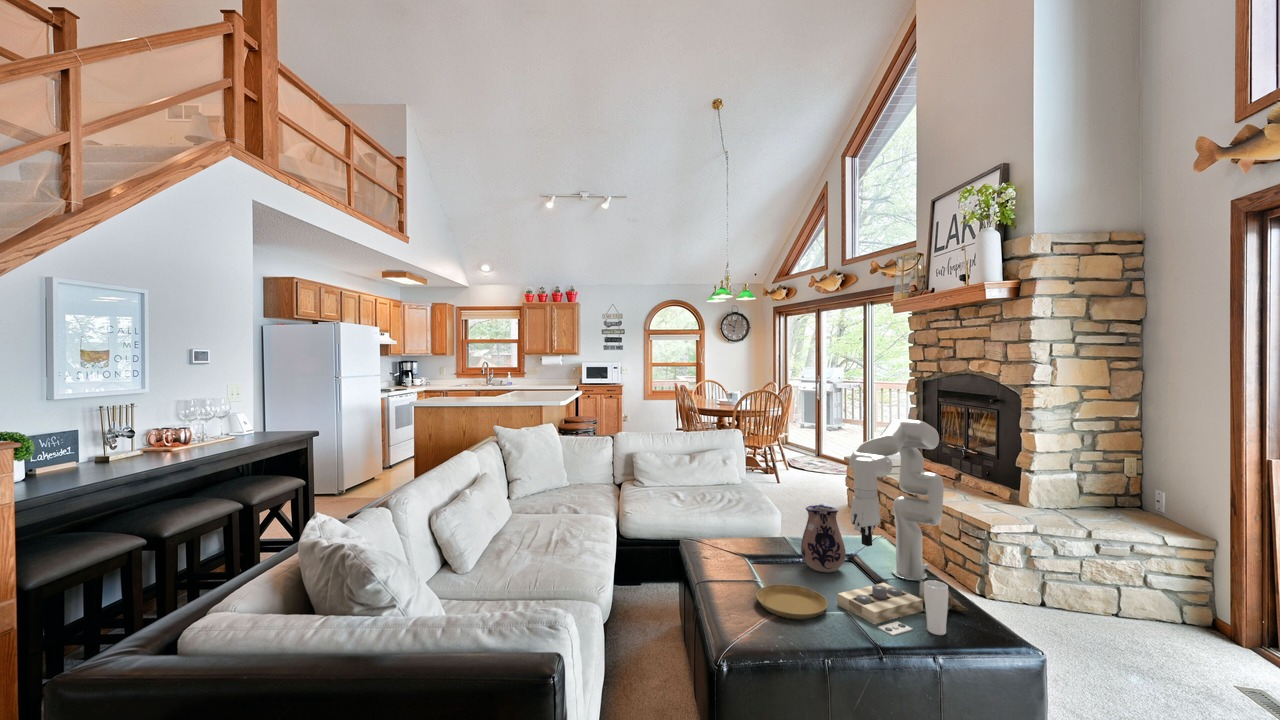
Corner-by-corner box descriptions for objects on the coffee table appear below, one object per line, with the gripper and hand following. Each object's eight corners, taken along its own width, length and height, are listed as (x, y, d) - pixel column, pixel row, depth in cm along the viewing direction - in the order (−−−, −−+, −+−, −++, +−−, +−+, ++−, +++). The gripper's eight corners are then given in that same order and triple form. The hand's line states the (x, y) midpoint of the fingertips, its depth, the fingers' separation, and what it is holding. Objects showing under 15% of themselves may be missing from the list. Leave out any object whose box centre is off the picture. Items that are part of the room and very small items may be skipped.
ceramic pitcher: (805, 575, 216) (805, 513, 216) (796, 557, 237) (796, 501, 237) (850, 577, 214) (850, 514, 214) (837, 559, 235) (837, 502, 235)
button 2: (893, 599, 193) (893, 586, 193) (905, 605, 189) (904, 591, 189) (884, 602, 191) (884, 588, 191) (895, 607, 187) (895, 593, 187)
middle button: (878, 597, 190) (878, 584, 190) (889, 603, 186) (889, 589, 186) (869, 600, 188) (869, 586, 188) (880, 605, 184) (880, 591, 184)
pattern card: (897, 622, 176) (897, 620, 176) (912, 629, 171) (912, 628, 171) (877, 628, 172) (877, 626, 172) (892, 635, 167) (892, 633, 167)
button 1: (863, 607, 187) (863, 593, 187) (874, 613, 182) (874, 598, 183) (853, 610, 185) (853, 596, 185) (864, 615, 181) (864, 601, 181)
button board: (884, 593, 199) (884, 582, 199) (922, 611, 184) (922, 599, 184) (837, 604, 189) (837, 593, 189) (874, 624, 175) (874, 612, 175)
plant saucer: (839, 607, 188) (839, 597, 188) (807, 630, 171) (806, 620, 171) (778, 587, 205) (778, 578, 205) (743, 607, 188) (743, 597, 188)
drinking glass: (919, 627, 173) (919, 580, 173) (939, 626, 173) (939, 579, 174) (933, 637, 166) (932, 588, 166) (953, 636, 167) (953, 588, 167)
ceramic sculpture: (931, 573, 195) (970, 591, 181) (930, 596, 196) (969, 616, 182) (909, 578, 191) (947, 597, 177) (909, 601, 192) (946, 622, 178)
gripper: (872, 488, 196) (873, 538, 196) (841, 493, 189) (843, 545, 189) (889, 492, 189) (890, 544, 189) (858, 498, 182) (859, 552, 182)
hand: (866, 544), depth 189 cm, fingers closed
